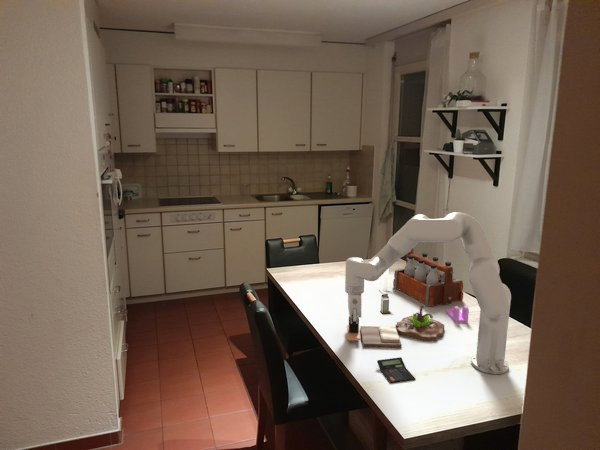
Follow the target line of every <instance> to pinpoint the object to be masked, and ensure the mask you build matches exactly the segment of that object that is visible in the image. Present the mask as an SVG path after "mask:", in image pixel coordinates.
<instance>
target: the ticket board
mask: <svg viewBox="0 0 600 450" xmlns="http://www.w3.org/2000/svg"><path fill="white" fill-rule="evenodd" d="M359 331H360V337H361V341H362V347H363V348H386V349H387V348H391V349H392V348H394V349H402V341H401V339H400V338H401V337H400V335H399V334H398V332H397V329H396V326H382V325H381V326H372V325H371V326H367V325H366V326H365V325H361V326H360V325H359Z"/></svg>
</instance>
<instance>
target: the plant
mask: <svg viewBox="0 0 600 450" xmlns="http://www.w3.org/2000/svg"><path fill="white" fill-rule="evenodd" d="M425 306H426V305H425V304H421V306H420V308H419V312H416V313H414V312H413V313H412V315H410V316H406V317H403V318H402V319H401V320H400V321H397V322H396V324H395V327H396V329H397V332H398V335H399V336H400V337H401V336H402V337H406V338H411V339H415V340H419V341H421V342H437V340H438V339H441V338H443V337H444V334H445V333H444V332H445V324H444V323H442V322H440V321H438V320H436V319H434V315H432V313H425V314H423V309H425Z"/></svg>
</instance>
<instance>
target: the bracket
mask: <svg viewBox="0 0 600 450" xmlns="http://www.w3.org/2000/svg"><path fill="white" fill-rule="evenodd" d="M446 310H447V311H446V313H447V315H448V316H449V317H450V318H451V320H452V321H453V322H454V323H455V324H457V323H458V324H464V323H465V324H466V323H468V322H469V311H470V310H469V307H468V305H467V306H462V311H460V308H459V306H453V308H448V309H446Z"/></svg>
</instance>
